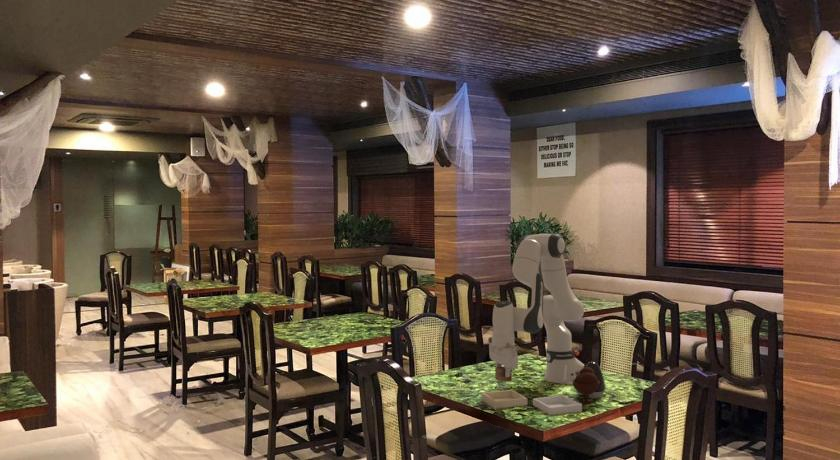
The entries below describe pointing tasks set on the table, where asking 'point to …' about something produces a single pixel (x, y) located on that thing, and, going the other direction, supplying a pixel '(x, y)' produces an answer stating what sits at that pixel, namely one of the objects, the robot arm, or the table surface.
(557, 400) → the grey bin
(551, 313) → the robot arm
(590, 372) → the ice cream bowl
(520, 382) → the table surface
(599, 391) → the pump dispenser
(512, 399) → the cream bin
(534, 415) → the table surface
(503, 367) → the walnut block
